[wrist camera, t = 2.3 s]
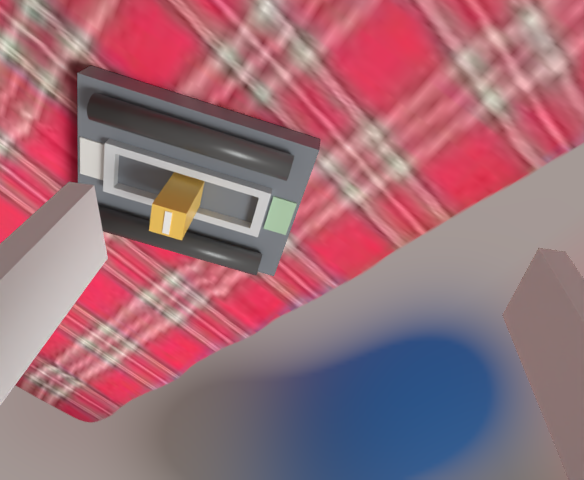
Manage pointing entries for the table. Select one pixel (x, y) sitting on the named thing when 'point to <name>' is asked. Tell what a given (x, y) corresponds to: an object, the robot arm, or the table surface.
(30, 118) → the table surface
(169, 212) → the lever
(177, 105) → the panel
